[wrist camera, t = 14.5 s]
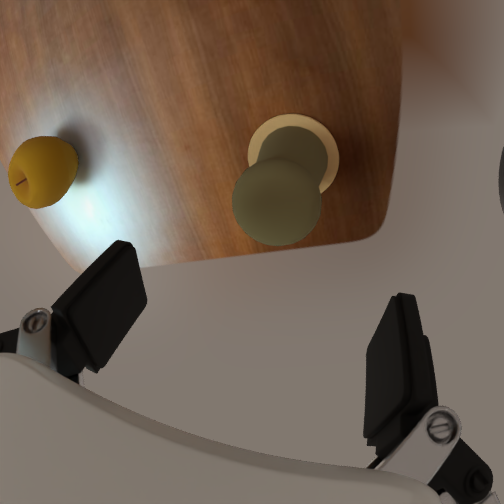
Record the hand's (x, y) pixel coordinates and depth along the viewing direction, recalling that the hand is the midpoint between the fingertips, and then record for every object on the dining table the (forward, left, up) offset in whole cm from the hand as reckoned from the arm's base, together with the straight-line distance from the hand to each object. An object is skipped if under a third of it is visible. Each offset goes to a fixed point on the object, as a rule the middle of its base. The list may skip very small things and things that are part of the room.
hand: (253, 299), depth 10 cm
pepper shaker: (+1, 0, -18) cm, 18 cm away
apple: (+28, +1, -18) cm, 33 cm away
